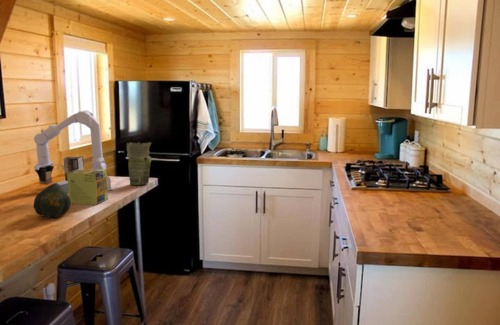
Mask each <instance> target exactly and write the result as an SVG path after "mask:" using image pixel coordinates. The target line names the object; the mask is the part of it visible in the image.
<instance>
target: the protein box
mask: <svg viewBox="0 0 500 325" xmlns="http://www.w3.org/2000/svg"><path fill="white" fill-rule="evenodd" d="M106 174H107V169H106V170H100V169H91V168H84V169H77V170H74V171H71V172H67V181H68V193H67V194H68V196H69V198H70V202H71V204H76V205H77V204H78V205H95V206H99V205H100V204H101V203H104V202H105V201H107V200H109V195H108V194H109V193H108V192H109V191H107V176H108V175H107V176H106Z"/></svg>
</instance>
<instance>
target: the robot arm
mask: <svg viewBox="0 0 500 325" xmlns="http://www.w3.org/2000/svg"><path fill="white" fill-rule="evenodd" d="M74 123H75V124H77V123H79V124H82V125H84V126H86V127H88V128H89V129H90V139H91V142H90V143H91V151H92V160H91V167H90V169H100V170H106V171H107V168H108V167H107V164H106V162H105V158H104V155H103V145H102V133H101V132H102V131H101V124H100V122H99V120H97V118H96V117H95V115H94V114H93V113H92V112H91V111H89V110H82V111H78V112H77V113H74V114H72V115H70V116H69V117H67V118H65V119H64V120H63V121H61V122H60V123H59V124H56V125H55V124H52V125H48V127H47V128H46V129H44V130H41V131H40V133H36V134H35V135H34V137H33V141H34V143H35V144H36V145H35V146H36V156H37V163H36V164H35V165H34V166H33V169H34V171H35V173H36V174H37V176H38V179H39V178H40V181H41V182H45V174H46V171H51V175H52V174H53V171H54V168H55V166H54V165H55V163H54V161H51V159H50V158H51V157H50V149H49V142H50V141H51V140H52V139H54V138H55V137H57V136H59V135H60V134H61V132H62V130H64V129H65V128H67V127H69V126H70V125H73V124H74ZM106 176H107V191H108V192H111V191H113V188H112V185H111V184H112V183H111V182H112V180H111V177H110V176H108V175H107V173H106Z"/></svg>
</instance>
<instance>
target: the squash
mask: <svg viewBox="0 0 500 325" xmlns="http://www.w3.org/2000/svg"><path fill="white" fill-rule="evenodd" d="M71 204H72V203H71V202H70V198H69V194H68V193H66V192H65V191H64V190H63V189H62V188H61V187H60V185H58V184H57V183H56V182H54V183H50V184H48V185H47V186H46V187H45V188H43V189H42V190H41V191H40V192H38V193H37V194H36V196H35V198H34V200H33V209H34V210H35V213H36V214H37V215H39V216H42V217H43V218H44V219H49V220H50V219H51V218H55V219H56V218H58V217H60V216H62V215H65V214H66V213H67V212H68V211H69V210H70V208H71Z"/></svg>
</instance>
